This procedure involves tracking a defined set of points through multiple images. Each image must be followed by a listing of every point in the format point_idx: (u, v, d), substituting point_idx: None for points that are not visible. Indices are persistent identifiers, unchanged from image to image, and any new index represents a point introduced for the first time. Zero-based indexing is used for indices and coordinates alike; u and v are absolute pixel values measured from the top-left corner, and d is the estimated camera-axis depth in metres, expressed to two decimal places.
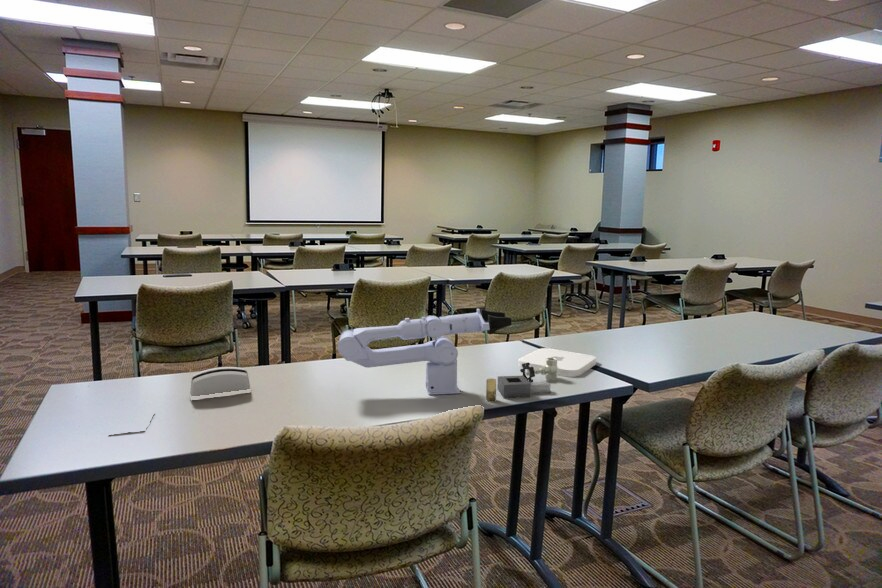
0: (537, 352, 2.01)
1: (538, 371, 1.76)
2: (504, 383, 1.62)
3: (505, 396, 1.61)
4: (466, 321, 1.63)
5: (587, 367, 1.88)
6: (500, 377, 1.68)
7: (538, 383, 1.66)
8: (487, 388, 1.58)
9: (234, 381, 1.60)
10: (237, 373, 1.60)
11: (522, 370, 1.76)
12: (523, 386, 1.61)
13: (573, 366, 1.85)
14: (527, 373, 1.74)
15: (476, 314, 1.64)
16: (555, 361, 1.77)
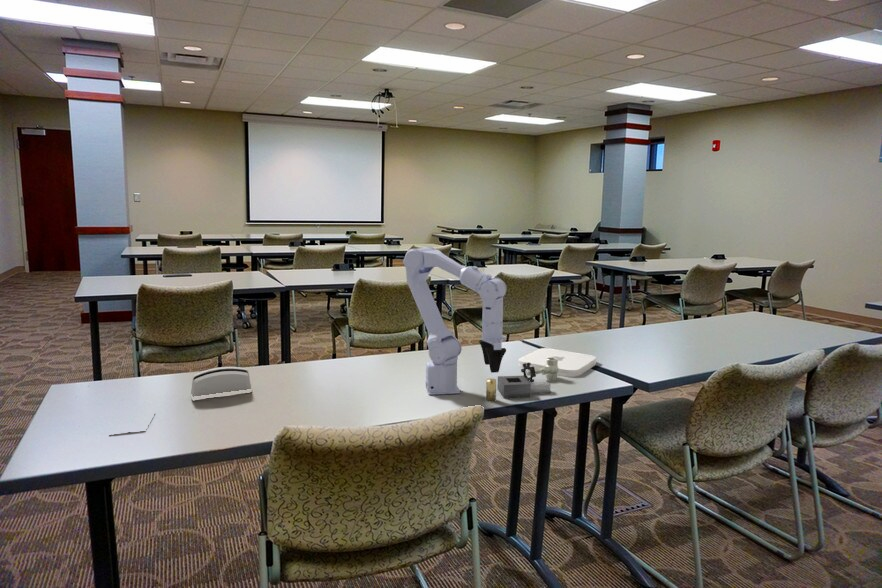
0: (538, 352, 2.01)
1: (539, 371, 1.76)
2: (504, 383, 1.62)
3: (505, 396, 1.61)
4: (498, 325, 1.54)
5: (587, 367, 1.88)
6: (500, 377, 1.68)
7: (538, 383, 1.66)
8: (487, 388, 1.58)
9: (236, 380, 1.61)
10: (238, 373, 1.60)
11: (523, 370, 1.76)
12: (523, 386, 1.61)
13: (573, 366, 1.85)
14: (528, 373, 1.74)
15: None
16: (555, 361, 1.77)
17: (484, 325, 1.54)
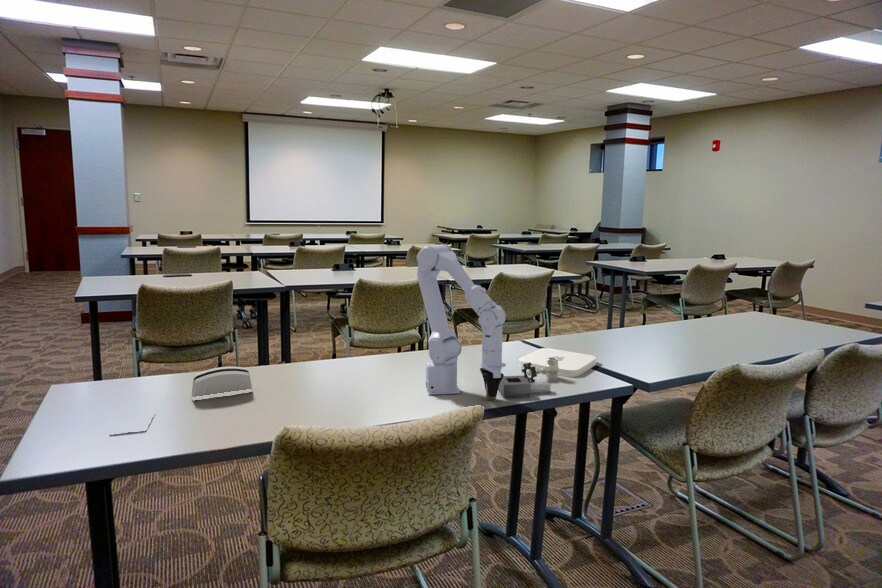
0: (538, 352, 2.01)
1: (539, 371, 1.76)
2: (504, 383, 1.62)
3: (505, 396, 1.61)
4: (497, 352, 1.55)
5: (587, 367, 1.88)
6: None
7: (538, 383, 1.66)
8: None
9: (236, 380, 1.61)
10: (239, 373, 1.60)
11: (523, 370, 1.76)
12: (523, 386, 1.61)
13: (573, 366, 1.85)
14: (529, 373, 1.74)
15: (501, 362, 1.57)
16: (556, 361, 1.77)
17: (484, 352, 1.56)
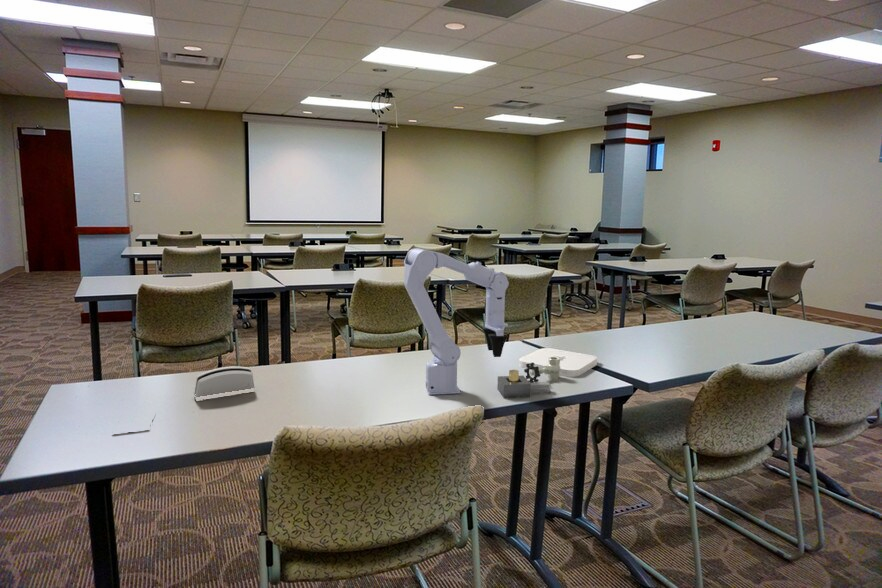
0: (539, 352, 2.02)
1: (542, 371, 1.76)
2: (504, 383, 1.62)
3: (505, 396, 1.61)
4: (500, 313, 1.68)
5: (588, 367, 1.88)
6: (500, 377, 1.68)
7: (538, 383, 1.66)
8: (510, 379, 1.64)
9: (240, 380, 1.61)
10: (242, 372, 1.61)
11: (526, 370, 1.76)
12: (523, 386, 1.61)
13: (574, 366, 1.85)
14: (532, 373, 1.74)
15: (503, 323, 1.70)
16: (558, 360, 1.78)
17: (487, 314, 1.69)
